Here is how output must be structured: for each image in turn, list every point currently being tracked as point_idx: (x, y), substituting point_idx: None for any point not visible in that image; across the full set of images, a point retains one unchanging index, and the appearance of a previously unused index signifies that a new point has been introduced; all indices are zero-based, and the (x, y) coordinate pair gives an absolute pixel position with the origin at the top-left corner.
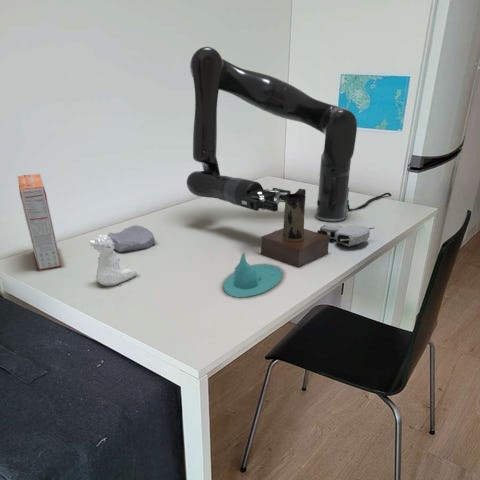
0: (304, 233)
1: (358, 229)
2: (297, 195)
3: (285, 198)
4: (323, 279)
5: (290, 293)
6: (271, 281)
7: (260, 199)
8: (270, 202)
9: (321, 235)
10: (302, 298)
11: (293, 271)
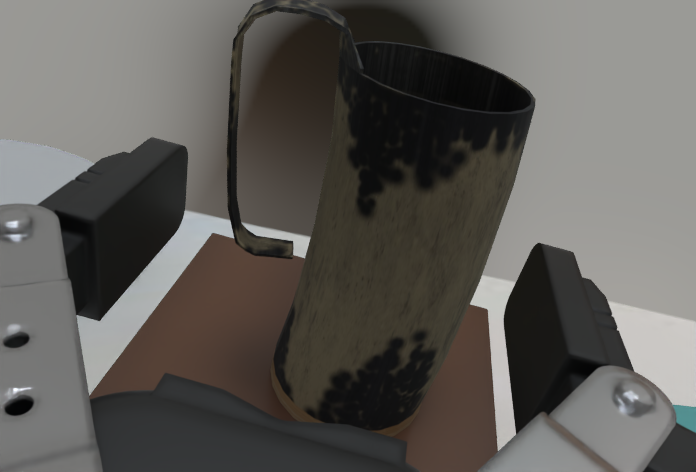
0: (230, 337)
1: (5, 163)
2: (347, 80)
3: (79, 285)
4: (478, 287)
5: (660, 348)
6: (691, 421)
7: (653, 452)
8: (588, 300)
9: (223, 259)
10: (645, 312)
11: (508, 390)
